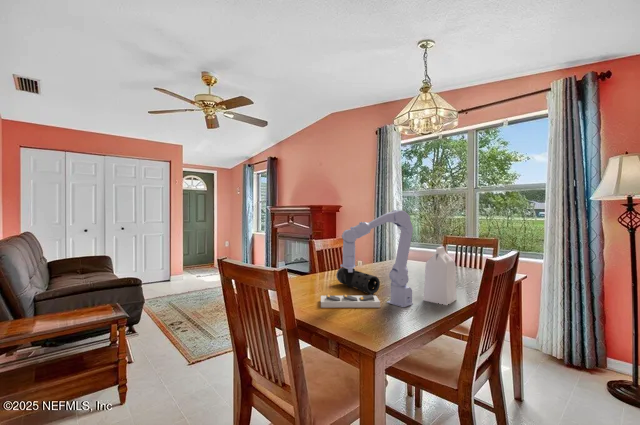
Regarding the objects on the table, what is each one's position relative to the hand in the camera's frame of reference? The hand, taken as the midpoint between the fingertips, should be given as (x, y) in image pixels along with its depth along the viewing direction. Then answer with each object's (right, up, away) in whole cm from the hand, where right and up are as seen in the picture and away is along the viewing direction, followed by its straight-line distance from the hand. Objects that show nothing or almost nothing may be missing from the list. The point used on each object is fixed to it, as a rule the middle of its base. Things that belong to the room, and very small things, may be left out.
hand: (348, 284), depth 143 cm
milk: (+46, -10, +8) cm, 47 cm away
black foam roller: (+7, -9, +28) cm, 30 cm away
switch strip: (+1, -10, +2) cm, 10 cm away
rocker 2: (+9, -7, 0) cm, 11 cm away
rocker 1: (-7, -7, 0) cm, 10 cm away
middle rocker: (+1, -7, 0) cm, 7 cm away
